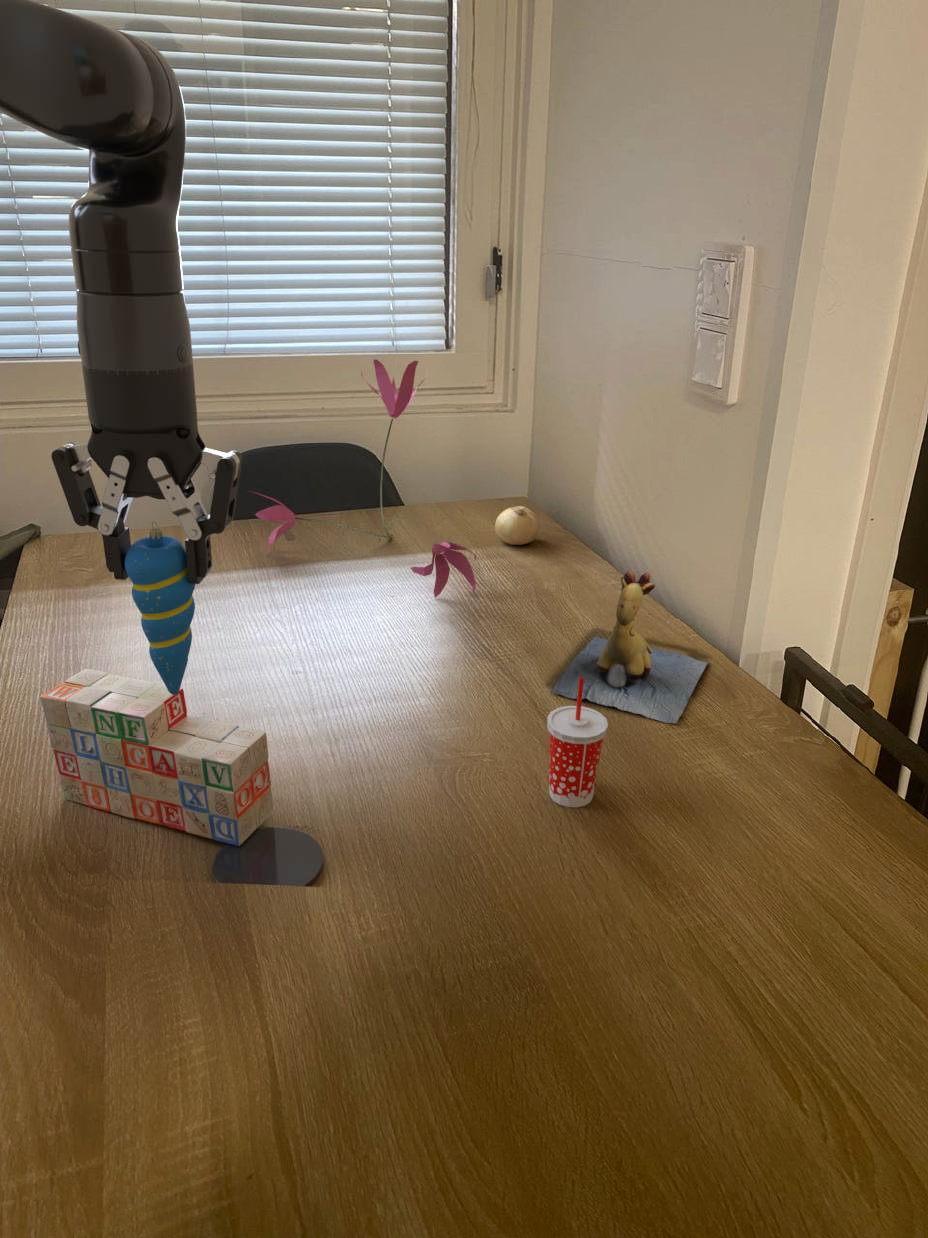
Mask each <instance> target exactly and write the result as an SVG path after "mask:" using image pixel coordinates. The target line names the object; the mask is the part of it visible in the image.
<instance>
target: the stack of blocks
mask: <svg viewBox="0 0 928 1238" xmlns="http://www.w3.org/2000/svg"><path fill="white" fill-rule="evenodd" d="M39 697H40V702H41V705H42V706H41V707H42V710H43V714H44V717H45V722H46V728H47V733H48V738H49V742H50V745H51V748H52V749H53V755H54V759H55V764H56V768H57V771H58V774H59V775H58V778H59V783H60V787H61V790H62V791H61V792H62V794H63V798H64V799H65V800H67V801H70V802H74V803H78V804H80V805H85V806H87V807H90V808H94V809H98V810H100V811H101V810H102V811H105V812H109V813H112V814H115V815H119V816H122V817H125V818H130V819H138V820H141V821H145V822H149V823H152V824H156V825H162V826H164V827H169V828H172V829H176V830H179V831H182V832H186V833H189V834H192V835H195V836H200V837H203V838H207V839H211V840H214V841H217V842H221V843H224V844H227V843H229V844H233V845H236V846H240V845H241V844H242V843H243V842H244V841H245V840H246V839H247V838H248V837H249V836H250V835H251V834H252V833H253V831H254V830H256V829H258V828H259V827H260V826H261V824H263V823H264V822H265V821H266V819H268V818H269V816H271V814H272V813H273V811H274V801H273V794H272V788H271V786H272V781H271V774H270V773H271V772H270V765H269V757H270V755H269V748H268V737H267V732H266V731H264V730H260V729H255V728H250V727H244V726H239V725H238V724H233V723H228V722H223V721H219V720H213V719H211V718H205V717H200V716H195V715H188V709H187V704H186V697H185V691H184V688H183V687H180V690H179V692H178V693H177V694H175V695H173V694H171V693H169V691H168V689H167V687H166V685H165V684H164V683H157V682H153V681H149V680H143V679H138V678H132V677H127V676H123V675H118V674H114V673H113V674H112V673H108V672H106V671H100V670H96V669H91V668H84V669H82V670H80V671H79V672H77V673H75V674H74V675H72V676H70V677H69V678H67V679H65V680H64V682H61V683H59V684H57V685H56V686H54V687H52V688H51V689H49V690H48V691H46V692H45V693H43V694H41V695H40V696H39Z"/></svg>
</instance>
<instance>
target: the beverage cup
mask: <svg viewBox="0 0 928 1238" xmlns="http://www.w3.org/2000/svg"><path fill="white" fill-rule="evenodd" d="M583 683H584V677H583V676H580V677H579V684H578V696H577V699H576V705H566V706H559V707H558V708H556V709H553V710H552V711H550V713H548V716H547V719H546V721H547V722H546V723H547V724H546V725H547V731H548V733H549V743H548V744H549V749H548V750H549V754H548V755H549V757H548V761H549V764H548V765H549V766H548V768H549V769H548V771H549V772H548V773H549V774H548V780H549V781H548V791H549V797H550V798H551V800H552V801H553V802H555V803H556V804H558V805H560V806H562V807H566V808H580V807H581V808H582V807H585V806H586V805H587V806H588V804H590V803H591V802H592V800H593V798H594V795H595V794H594V792H595V788H596V781H597V776H598V771H599V765H600V759H601V754H602V749H603V744H604V738H605V736H606V735H607V733H608V728H609V723H608V719H607V718H606V717H605V716H604V715H603V713H601V712H600V711H597V710H595V709H593V708H591V707H586V706H582V704H583V703H582V702H583V699H582V693H583Z"/></svg>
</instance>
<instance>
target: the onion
mask: <svg viewBox="0 0 928 1238" xmlns="http://www.w3.org/2000/svg"><path fill="white" fill-rule="evenodd" d="M494 525H495V526H494V530H495V533H496V536H497V537H498V539H499V540H500V541H502V542H503V543H505V544H507V545H511V546H512V545H513V546H515V545H516V546H521V545H526V544H529V543H532V542H533V541H534V540H535V539H536V538H537V536H538V534H539V530H540V522H539V518H538V516H537V515H536V514H535V513H534V512H533V511H532V510H530V509H528V508H527V507H525V506H522V505H521V506H520V505H519V506H518V505H517V506H511V507H509V508H506V509H504V510H503V511H501V513H499V515H498V516H497V518H496V520H495V523H494Z"/></svg>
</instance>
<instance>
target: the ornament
mask: <svg viewBox="0 0 928 1238" xmlns="http://www.w3.org/2000/svg"><path fill="white" fill-rule="evenodd" d="M153 524H155V525H156V527H157V528H154V525H153ZM151 527H152V528H151V529H149V531H148V532H149V536H146V537H143V538H141V539H137V540H136V541H134V542H133V543H131V547H130V548H129V549H128V551H127V554H126V557H125V569H126V572H127V574H128V576H129V577H128V579H130V581H131V583H132V588H131V596H132V600H133V602H134V604H135V605H136V607H137V609H138V611H139V612H140V614H141V619H140V623H141V628H142V631H143V634H144V636H145V637H146V640H147V641H148V643H149V646H148V647H149V648H148V649H149V651H148V652H149V653H148V654H149V656H150V657H149V658H150V659H151V661H152V665H153V666H154V667H155V670H156V671H157V673H158V675H159V677H160V678H161V680H162V681H163V684H164V685H166V687H167V689H168V691H169V693H171V694H173V695H175V694H177V693H178V692H179V690H180V688H181V686H182V682H183V679H184V677H185V676H184V675H185V672H186V669H187V666H188V662H189V654H190V650H191V648H192V643H193V642H192V641H193V632H192V628H191V624H192V621H193V618H194V616H195V611H196V604H195V599H194V596H193V594H194V591H195V588H196V584H190V583H189V581H188V571H187V560H186V549H185V545H184V544H183V543H182V542H181V540H179V539H177V538H174V537H172V536H167V535H163V531H162V529H161V528H159V525H158V523H157V522H156V521H152V522H151Z"/></svg>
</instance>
